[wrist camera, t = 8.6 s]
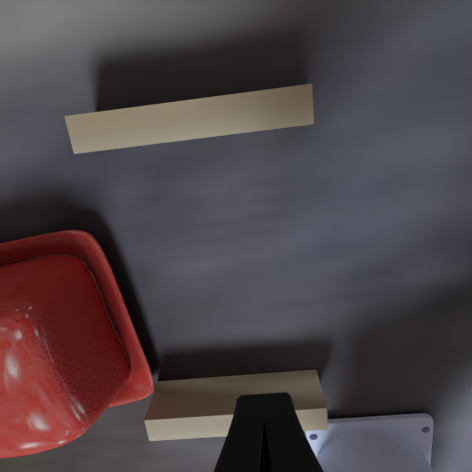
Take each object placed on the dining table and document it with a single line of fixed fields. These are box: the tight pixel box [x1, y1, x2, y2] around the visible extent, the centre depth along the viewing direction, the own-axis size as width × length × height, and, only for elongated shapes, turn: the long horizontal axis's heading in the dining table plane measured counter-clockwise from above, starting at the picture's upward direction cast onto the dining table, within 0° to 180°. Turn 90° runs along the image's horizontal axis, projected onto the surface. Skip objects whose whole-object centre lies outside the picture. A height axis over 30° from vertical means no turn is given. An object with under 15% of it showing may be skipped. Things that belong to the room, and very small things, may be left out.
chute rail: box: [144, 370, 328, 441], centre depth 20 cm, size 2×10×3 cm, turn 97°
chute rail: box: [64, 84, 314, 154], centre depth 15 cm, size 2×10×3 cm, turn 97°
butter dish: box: [0, 230, 155, 458], centre depth 17 cm, size 12×12×8 cm
